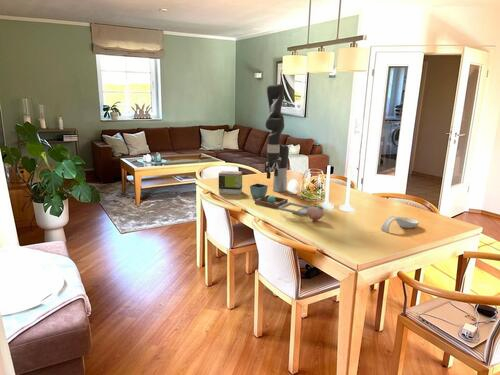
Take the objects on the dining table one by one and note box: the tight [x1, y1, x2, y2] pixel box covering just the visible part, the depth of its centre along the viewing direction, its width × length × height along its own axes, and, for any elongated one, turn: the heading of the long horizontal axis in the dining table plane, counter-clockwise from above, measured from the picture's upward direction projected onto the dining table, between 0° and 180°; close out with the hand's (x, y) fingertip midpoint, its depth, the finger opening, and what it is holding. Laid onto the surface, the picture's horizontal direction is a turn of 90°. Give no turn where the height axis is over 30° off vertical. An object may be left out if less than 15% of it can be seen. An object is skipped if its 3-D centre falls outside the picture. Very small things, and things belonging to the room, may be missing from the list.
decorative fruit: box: [306, 203, 324, 222], centre depth 205 cm, size 9×8×10 cm
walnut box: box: [254, 194, 289, 209], centre depth 233 cm, size 15×15×3 cm
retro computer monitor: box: [218, 170, 243, 196], centre depth 257 cm, size 15×10×15 cm
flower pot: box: [249, 182, 268, 200], centre depth 245 cm, size 9×9×9 cm
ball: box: [268, 195, 276, 203], centre depth 233 cm, size 5×5×5 cm
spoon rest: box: [380, 215, 420, 234], centre depth 197 cm, size 24×12×7 cm, turn 121°
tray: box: [277, 201, 309, 217], centre depth 223 cm, size 14×18×2 cm
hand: (272, 177), depth 229 cm, fingers open, 8 cm apart
